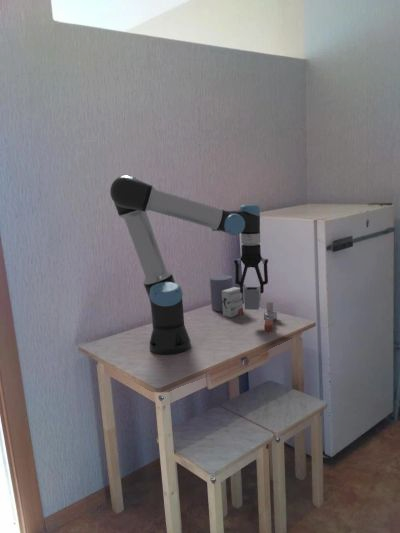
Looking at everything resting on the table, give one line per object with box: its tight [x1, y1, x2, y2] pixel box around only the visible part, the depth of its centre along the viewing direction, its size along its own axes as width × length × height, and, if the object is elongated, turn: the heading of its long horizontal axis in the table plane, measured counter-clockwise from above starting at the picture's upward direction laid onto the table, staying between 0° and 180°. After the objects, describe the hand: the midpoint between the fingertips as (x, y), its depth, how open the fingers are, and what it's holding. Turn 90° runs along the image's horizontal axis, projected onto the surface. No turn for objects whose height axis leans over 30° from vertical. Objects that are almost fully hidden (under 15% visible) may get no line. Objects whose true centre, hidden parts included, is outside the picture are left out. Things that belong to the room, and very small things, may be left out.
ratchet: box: [263, 300, 278, 333], centre depth 193 cm, size 5×18×8 cm, turn 168°
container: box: [209, 274, 234, 312], centre depth 220 cm, size 10×10×15 cm
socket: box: [244, 286, 261, 311], centre depth 191 cm, size 6×6×8 cm
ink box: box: [222, 286, 244, 318], centre depth 210 cm, size 9×5×12 cm, turn 133°
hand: (252, 300), depth 191 cm, fingers closed on socket, 5 cm apart
